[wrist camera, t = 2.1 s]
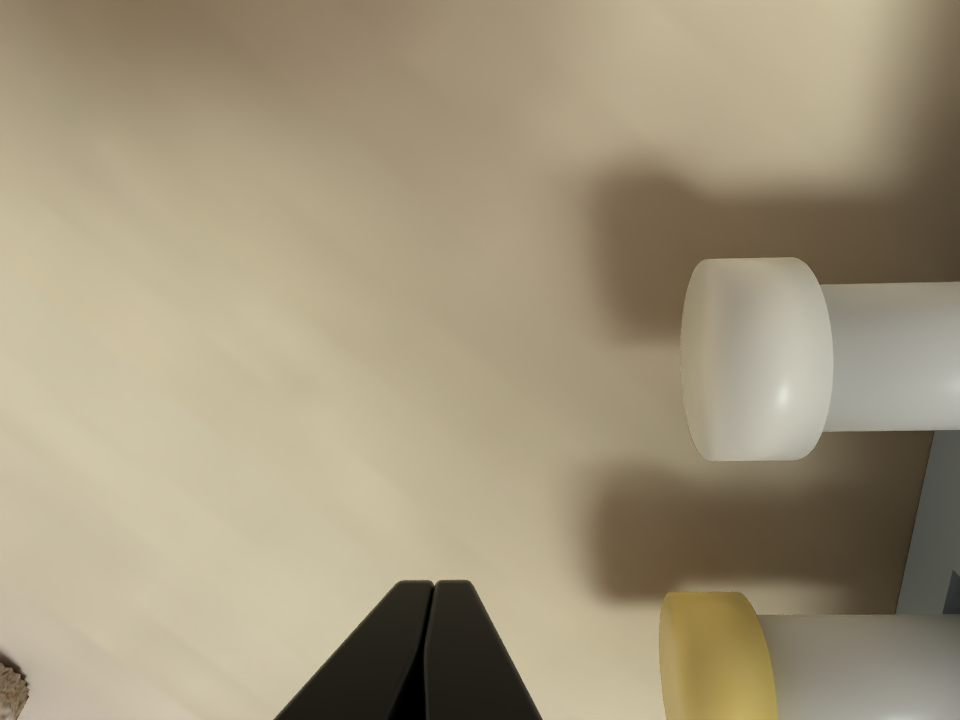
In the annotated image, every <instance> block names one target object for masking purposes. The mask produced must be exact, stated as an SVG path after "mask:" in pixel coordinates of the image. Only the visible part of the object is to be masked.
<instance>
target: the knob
mask: <svg viewBox="0 0 960 720" xmlns="http://www.w3.org/2000/svg"><path fill="white" fill-rule="evenodd" d="M680 366H681V383H682V393H683V401H684V408H685V413H686V418H687V423H688V427H689V430H690V434H691V437H692V440H693V442H694V445H695V447H696V449H697V451H698V452H699V454H700V455H701V456H702V457H703V458H704V459H705V460H707V461H778V460H799V459H802V458H804V457H806V456H807V455H808V454H809V453H810V452H811V451H812V450H813V448H814V447H815V445H816V444H817V442H818V440H819V438H820V436H821V434H822V432H840V431H915V430H960V282H918V283H869V284H821V285H819V283H818V281H817V278H816V277H815V275H814V273H813V272H812V270H811V269H810V268H809V267H808V265H807V264H806V263H804V262H803V261H802V260H800V259H798V258H795V257H775V258H730V259H704V260H702V261H701V262H700V263H698V265H697V266H696V268H695V269H694V271H693V273H692V276H691V278H690V281H689V285H688V288H687V292H686V296H685V302H684V308H683V315H682V325H681V341H680Z"/></svg>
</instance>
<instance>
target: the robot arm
mask: <svg viewBox="0 0 960 720" xmlns="http://www.w3.org/2000/svg"><path fill="white" fill-rule="evenodd" d="M274 720H543V719H542V717H541V715H540V714H539V712H538V710H537V708H536V706H535V704H534V702H533V700H532V698H531V696H530V694H529V692H528V690H527V688H526V686H525V685H524V683H523V681H522V679H521V677H520V675H519V673H518V671H517V669H516V667H515V665H514V663H513V661H512V659H511V657H510V656H509V654H508V652H507V650H506V648H505V646H504V644H503V642H502V640H501V638H500V636H499V634H498V632H497V630H496V628H495V627H494V625H493V623H492V621H491V619H490V617H489V615H488V613H487V611H486V609H485V607H484V605H483V603H482V601H481V599H480V598H479V596H478V594H477V592H476V590H475V588H474V586H473V584H472V583H471V582H470V581H468V580H440V581H438V582H437V583H436V584H435V586H434V584H433V582H431V581H429V580H403V581H400V582H398V583H396V584H395V585H394V587H393V588H392V589H391V590H390V591H389V592H388V593H387V594H386V595H385V597H384V598H383V599H382V600H381V601H380V602H379V603H378V604H377V605H376V606H375V608H374V609H373V610H372V611H371V612H370V613H369V614H368V615H367V616H366V618H365V619H364V620H363V621H362V622H361V623H360V624H359V625H358V626H357V628H356V629H355V630H354V631H353V632H352V633H351V634H350V635H349V636H348V638H347V639H346V640H345V641H344V642H343V643H342V644H341V645H340V646H339V648H338V649H337V650H336V651H335V652H334V653H333V654H332V655H331V656H330V658H329V659H328V660H327V661H326V662H325V663H324V664H323V665H322V666H321V667H320V669H319V670H318V671H317V672H316V673H315V674H314V675H313V676H312V677H311V679H310V680H309V681H308V682H307V683H306V684H305V685H304V686H303V687H302V689H301V690H300V691H299V692H298V693H297V694H296V695H295V696H294V697H293V699H292V700H291V701H290V702H289V703H288V704H287V705H286V706H285V707H284V709H283V710H282V711H281V712H280V713H279V714H278V715H277V716H276V717H275V718H274Z"/></svg>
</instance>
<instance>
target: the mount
mask: <svg viewBox="0 0 960 720" xmlns="http://www.w3.org/2000/svg"><path fill="white" fill-rule="evenodd" d="M896 614H960V430H935V432H934V436H933V441H932V446H931V450H930V455H929V460H928V464H927V469H926V474H925V478H924V483H923V488H922V492H921V497H920V502H919V506H918V511H917V516H916V520H915V525H914V530H913V534H912V539H911V544H910V548H909V553H908V558H907V562H906V567H905V572H904V576H903V581H902V586H901V590H900V595H899V600H898V604H897V609H896Z"/></svg>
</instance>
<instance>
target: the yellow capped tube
mask: <svg viewBox="0 0 960 720" xmlns="http://www.w3.org/2000/svg"><path fill="white" fill-rule="evenodd" d="M659 656H660V672H661V684H662V693H663V700H664V707H665V713H666V719H667V720H960V614H879V615H756V613H755V611H754V609H753V607H752V605H751V604H750V602H749V601H748V599H747V598H746V597H745V596H744V595H743V594H742V593H740V592H668V593H667V594H666V595H665V597H664V600H663V603H662V608H661V614H660V627H659Z"/></svg>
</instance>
